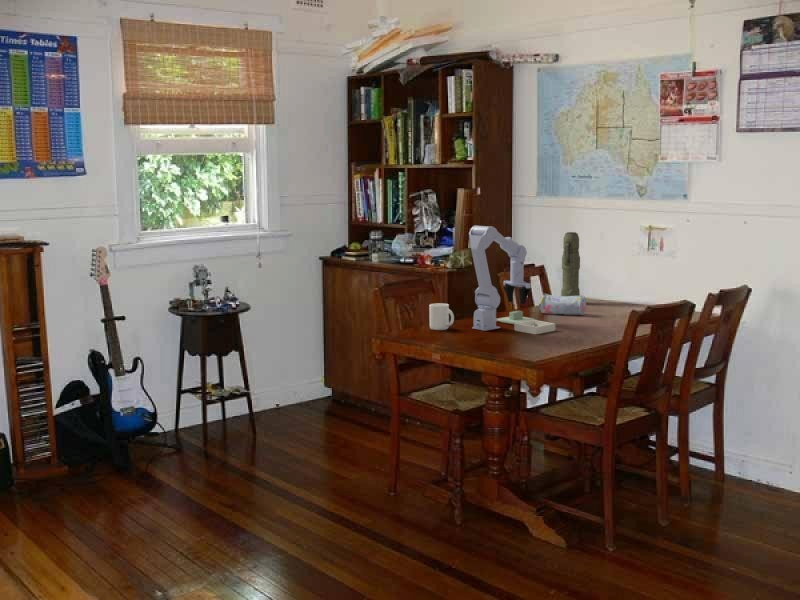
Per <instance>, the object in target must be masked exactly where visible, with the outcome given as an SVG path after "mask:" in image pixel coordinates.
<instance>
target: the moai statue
mask: <svg viewBox="0 0 800 600" xmlns="http://www.w3.org/2000/svg"><path fill="white" fill-rule="evenodd" d="M562 242H563V245H562V246H563V247H562V248H563V251H562V257H561V269H562V287H561V293H560V294H561V295H560V296H581V294H580V292H581V291H580V287H579V283H580V281H579V280H580V269H581V257H580V256H581V255H580V250H579V249H580V237H579V234H578V233H577V232H575V231H574V232H573V231H570V232H569V231H568V232H565V234H564V236H563V240H562Z"/></svg>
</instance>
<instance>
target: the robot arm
mask: <svg viewBox="0 0 800 600" xmlns="http://www.w3.org/2000/svg"><path fill="white" fill-rule="evenodd" d="M468 235H469V241H470V249H471V255H472V259H473V261H472V262H473V266H474V269H475V275H476V279H477V282H478V283H477V285H478V287H477V288H476V289H475V290H474V294H475V296H474V302H475V304H476V306H477V309H476V310H474V312H473V326H472V327H471V329H473V330H474V329H475V330H479V331H483V332H487V331H491V330H496V329H500V328H501V326H497V321H496V319H497V308H498V307H499V305H500V303H501V296H500V294H499V292H498V288H496V287H495V286H494V285H493V284H492V280H491V274H490V270H489V266H488V259H487V254H486V249H488V248H489V247H490V245H491V244H492V243H493V242H495V243H497V244H498V245H499V247H500V249H501V250H503V251H504V252H506V253H507V256H508V257H509V258H510V271H509V272H510V277H509V278H510V279H509V280H503V286H502V288H503V290H504V292H505V294H506V298H507V302H508V303H513V301H514V292H515V288H518V291H519V297H520V301H519V302H520V305H525V304H526V302H527V298H528V295H529V293H530V291H531V290H532V289H531V285H532V283H529V282H526V281H524V276H525V275H524V274H525V271H524V265H525V261H526V256H527V249H526V247H525V246H524V245H522V244H521V245H520V244H519V243H518V242H517V241H514V240H513V238H512V237H510V236H506V237H504V236H503V235H502V234H501V233H500V232H499V231H498V230H497V228H496V227H494V226H491V225H490V226H488V225H487V226H485V225H472V227H471V228H470V230H469V232H468Z"/></svg>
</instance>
